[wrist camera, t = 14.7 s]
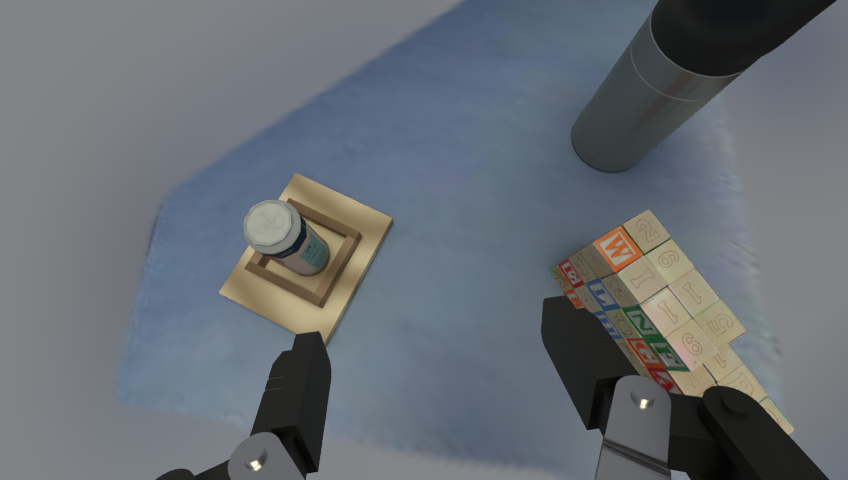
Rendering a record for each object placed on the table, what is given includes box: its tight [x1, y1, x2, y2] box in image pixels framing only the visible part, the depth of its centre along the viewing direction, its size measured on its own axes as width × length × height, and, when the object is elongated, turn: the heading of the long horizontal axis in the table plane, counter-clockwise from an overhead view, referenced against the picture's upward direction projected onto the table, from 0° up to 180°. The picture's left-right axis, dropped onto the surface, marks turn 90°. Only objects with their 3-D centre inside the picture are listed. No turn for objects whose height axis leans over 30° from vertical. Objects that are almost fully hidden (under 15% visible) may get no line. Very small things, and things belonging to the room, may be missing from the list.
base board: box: [219, 173, 393, 347], centre depth 42 cm, size 16×13×4 cm
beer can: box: [243, 200, 330, 276], centre depth 36 cm, size 5×5×12 cm
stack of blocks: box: [549, 209, 794, 435], centre depth 36 cm, size 21×6×12 cm, turn 30°
